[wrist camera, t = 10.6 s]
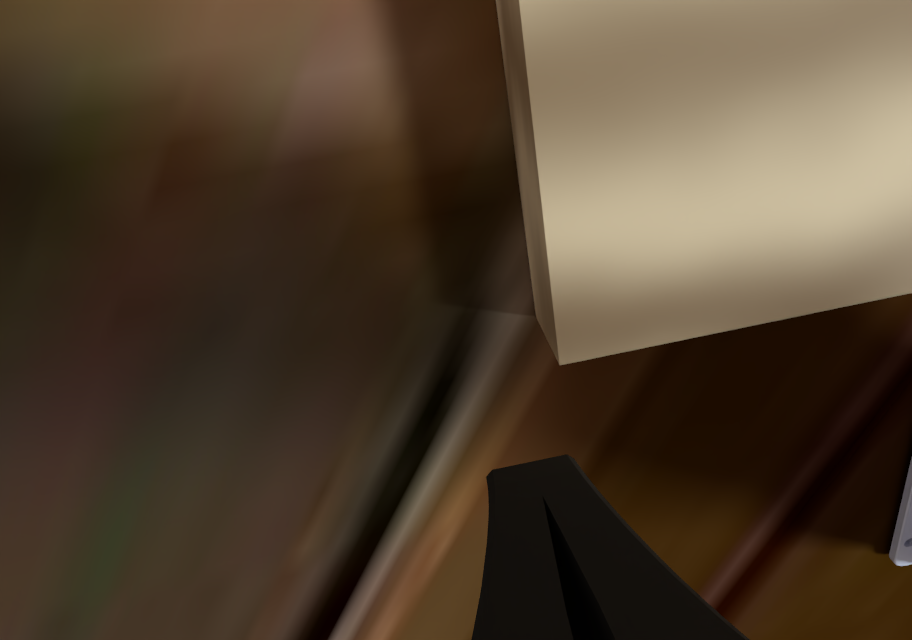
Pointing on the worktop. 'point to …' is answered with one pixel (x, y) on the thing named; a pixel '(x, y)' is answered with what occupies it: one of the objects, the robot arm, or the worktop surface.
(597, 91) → the tan tray
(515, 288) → the worktop surface
